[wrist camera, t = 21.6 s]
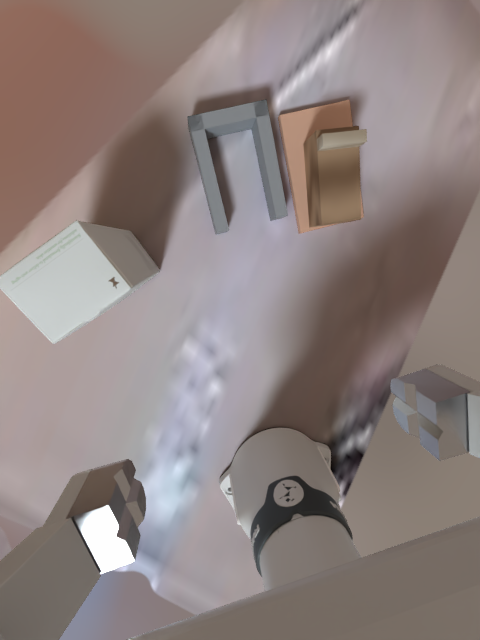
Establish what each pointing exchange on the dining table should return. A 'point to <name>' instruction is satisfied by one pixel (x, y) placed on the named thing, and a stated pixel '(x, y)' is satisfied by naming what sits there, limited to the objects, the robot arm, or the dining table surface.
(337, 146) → the walnut block
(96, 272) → the skincare box
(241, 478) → the robot arm
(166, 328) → the dining table surface
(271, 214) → the frame
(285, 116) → the rubber pad
